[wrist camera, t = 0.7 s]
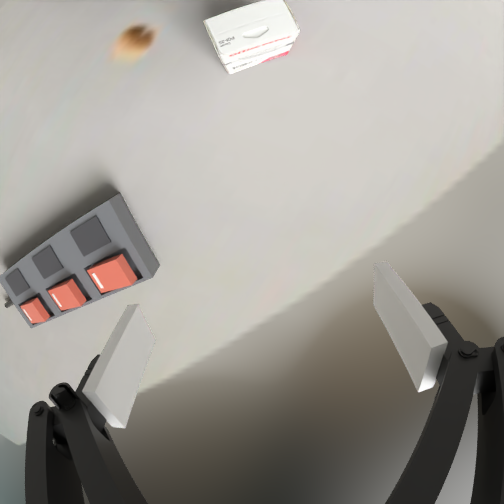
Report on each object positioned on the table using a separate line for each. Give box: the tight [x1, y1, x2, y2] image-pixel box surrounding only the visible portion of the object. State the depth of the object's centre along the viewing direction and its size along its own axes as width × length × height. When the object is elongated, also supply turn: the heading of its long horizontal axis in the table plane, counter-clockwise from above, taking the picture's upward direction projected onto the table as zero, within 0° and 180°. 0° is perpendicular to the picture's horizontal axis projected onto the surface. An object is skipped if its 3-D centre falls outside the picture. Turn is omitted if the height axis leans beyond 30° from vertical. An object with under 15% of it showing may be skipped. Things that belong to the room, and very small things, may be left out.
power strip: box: [0, 193, 160, 328], centre depth 45 cm, size 13×44×4 cm, turn 113°
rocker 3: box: [87, 254, 137, 293], centre depth 41 cm, size 4×8×2 cm, turn 113°
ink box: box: [203, 0, 300, 74], centre depth 27 cm, size 9×5×12 cm, turn 111°
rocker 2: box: [48, 279, 87, 310], centre depth 43 cm, size 4×8×2 cm, turn 113°
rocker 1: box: [20, 298, 50, 323], centre depth 45 cm, size 4×8×2 cm, turn 113°
